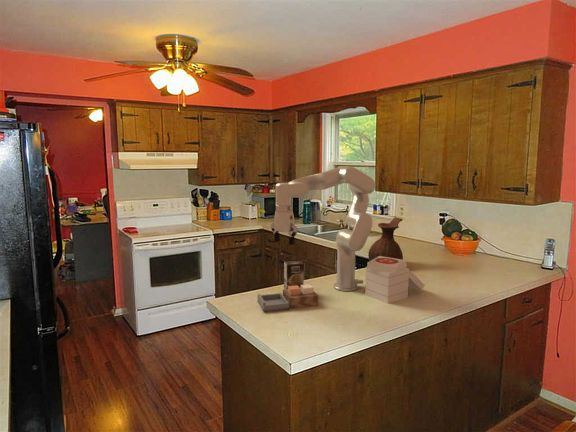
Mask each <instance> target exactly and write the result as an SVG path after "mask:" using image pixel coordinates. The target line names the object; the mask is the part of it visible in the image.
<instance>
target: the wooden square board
mask: <svg viewBox="0 0 576 432" xmlns="http://www.w3.org/2000/svg"><path fill="white" fill-rule="evenodd" d="M282 295H283V296H284V297H285V299H286V300H287V301H288V302H289V309H297V308H306V307H307V308H308V307H315V306H319V295H318V294H317V293H316V292H315V291H314V293H309V294H303V293H302V292H301V294H299V295H290V294H289V293H288V289H285V290H284V289H282Z"/></svg>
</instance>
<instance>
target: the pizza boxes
mask: <svg viewBox="0 0 576 432" xmlns="http://www.w3.org/2000/svg"><path fill="white" fill-rule="evenodd" d="M407 263H408V260H406V259H403V260H402V259H395V258H389V257H382V256H378V257H376V258H374V259H373V260H371V261H370V260H369V261H367V266H365V290H364V292H365V293H364V294H365V296H368V297H370V298H372V299H375V300H378V301H380V302H382V303H385V304H390V303H393V302H396V301H400V300H403V299H406V298H408V297H409V287H411V288H413V289H414V288H415V289H416V290H420V291H423V289H424V287H425V284H424V282H422V281H421V280H420V278H418V276H417V275H416V274H415V273H414V272H413V271H412V270H410V268H407V265H408V264H407Z"/></svg>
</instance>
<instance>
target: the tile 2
mask: <svg viewBox="0 0 576 432" xmlns="http://www.w3.org/2000/svg"><path fill="white" fill-rule="evenodd" d="M300 289H301V292H302V293H303V294H309V293H314V292H315V291H314V286H313V285H311V284H307V283H306V284H304V285H300Z"/></svg>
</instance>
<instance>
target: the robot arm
mask: <svg viewBox="0 0 576 432" xmlns="http://www.w3.org/2000/svg"><path fill="white" fill-rule="evenodd" d="M341 184H347V185H349V189H350V191H351V193H352V201H351V205H350V207H349V210H348V212H347V215H346V217H345V224H346V225H347V226H348V227H349V228H351V229H353V230H351V229H347V228H343V229H340V230H339V231H338V232H337V233H336V237H335V242H336V251H337V252H336V253H337V257H336V258H337V260H336V282H335V283H334V284H333V288H334V289H335V290H338V291H342V292H353V291H355V290H357V289H358V285H359V284H360V285H361V284H363V283H364V280H363V279H359V278H355V277H356V276H355V275H356V252H360V251H361V250H362V249H363V248H364V247H365V245H366V243H367V241H368V238H369V234H370V233H371V230H372V228H373V218H372V216H371V215H370V214H369V213H367V212H368V211H367V210H368V207H369V204H370V197H369V195H370V194H372V193H373V192H374V191H375V189H376V181H375V180H374V179H373V177H371V176H370V175H367V174H366V173H364V172H363V171H361V170H359V169H357V168H356V167H353V166H347V165H345V166H344V165H341V166H338V167H335V168H332V169H329V170H326V171H322V172H319V173H315V174H311V175H307V176H303V177H299V178H296V179H293V180H291V181H289V182H278V183H276V184H275V211H274V217H273V218H274V219H273V220H274V221H273V222H272V223H270V228H271V231H272V234H273V235H274V236H273V237H274V239H273V242H274V243H277V242H280V232H281V233H286V234H288V236H289V237H288V245H289V246H292V245H295V237H296V235H297V234H298V231H299V227H297V226H296V224H295V223H296V222H295V216H294V215H295V214H294V212H293V206H292V198H293V199H294V198H298V199H302V198H304V197H306V196H308V194H309V191H323V190H327V189H330V188H333V187H336V186H339V185H341Z"/></svg>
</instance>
